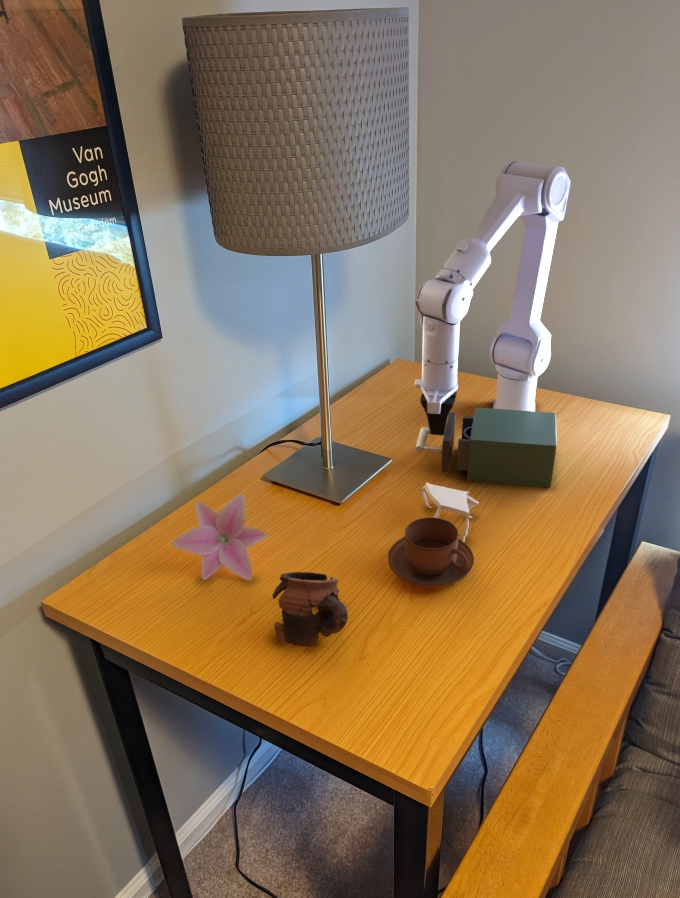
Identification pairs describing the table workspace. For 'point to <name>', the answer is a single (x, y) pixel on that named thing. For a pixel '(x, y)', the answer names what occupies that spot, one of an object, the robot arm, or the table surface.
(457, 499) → the origami figure
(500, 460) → the sage green box
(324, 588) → the pottery mug
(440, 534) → the cup and saucer
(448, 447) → the drawer
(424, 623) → the table surface
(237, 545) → the lily
